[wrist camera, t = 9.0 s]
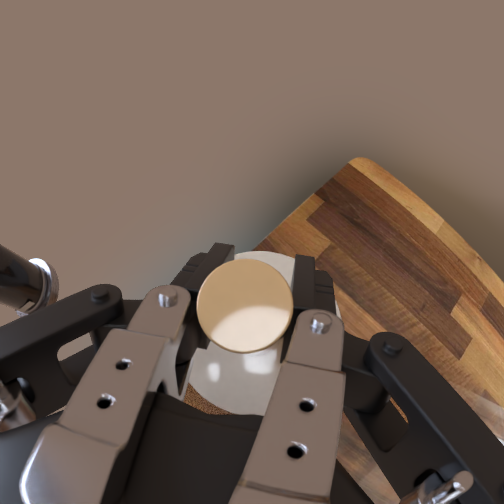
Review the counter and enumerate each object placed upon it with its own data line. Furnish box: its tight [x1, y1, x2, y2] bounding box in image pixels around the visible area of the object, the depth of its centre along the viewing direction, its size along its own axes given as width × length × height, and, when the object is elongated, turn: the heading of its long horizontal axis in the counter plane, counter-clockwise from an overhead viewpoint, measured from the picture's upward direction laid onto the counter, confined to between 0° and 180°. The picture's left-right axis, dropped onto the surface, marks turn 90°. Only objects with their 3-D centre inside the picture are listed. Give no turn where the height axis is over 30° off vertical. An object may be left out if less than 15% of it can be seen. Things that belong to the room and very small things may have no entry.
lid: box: [189, 251, 342, 416], centre depth 11 cm, size 8×8×8 cm
